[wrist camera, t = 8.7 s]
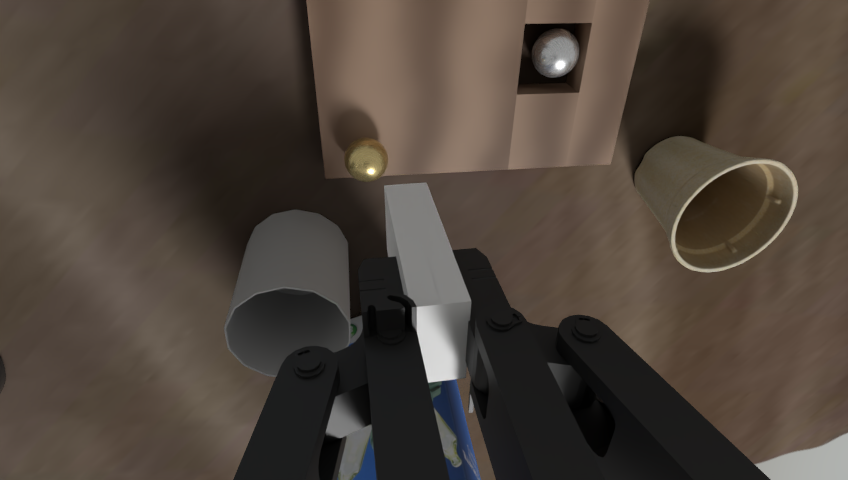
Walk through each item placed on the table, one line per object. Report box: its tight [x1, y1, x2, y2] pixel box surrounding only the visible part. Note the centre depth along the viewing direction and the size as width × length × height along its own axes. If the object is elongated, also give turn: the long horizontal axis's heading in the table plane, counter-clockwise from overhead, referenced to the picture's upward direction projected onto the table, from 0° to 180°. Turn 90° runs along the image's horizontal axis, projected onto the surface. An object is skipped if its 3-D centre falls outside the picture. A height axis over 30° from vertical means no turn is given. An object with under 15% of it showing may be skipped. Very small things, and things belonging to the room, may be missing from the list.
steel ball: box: [532, 28, 579, 78], centre depth 34 cm, size 3×3×3 cm
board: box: [306, 0, 650, 179], centre depth 34 cm, size 22×16×2 cm
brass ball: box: [344, 138, 388, 182], centre depth 34 cm, size 3×3×3 cm
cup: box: [224, 209, 351, 377], centre depth 38 cm, size 8×8×10 cm
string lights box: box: [337, 315, 481, 480], centre depth 38 cm, size 13×8×26 cm, turn 108°
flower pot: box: [634, 136, 798, 272], centre depth 39 cm, size 9×9×9 cm
